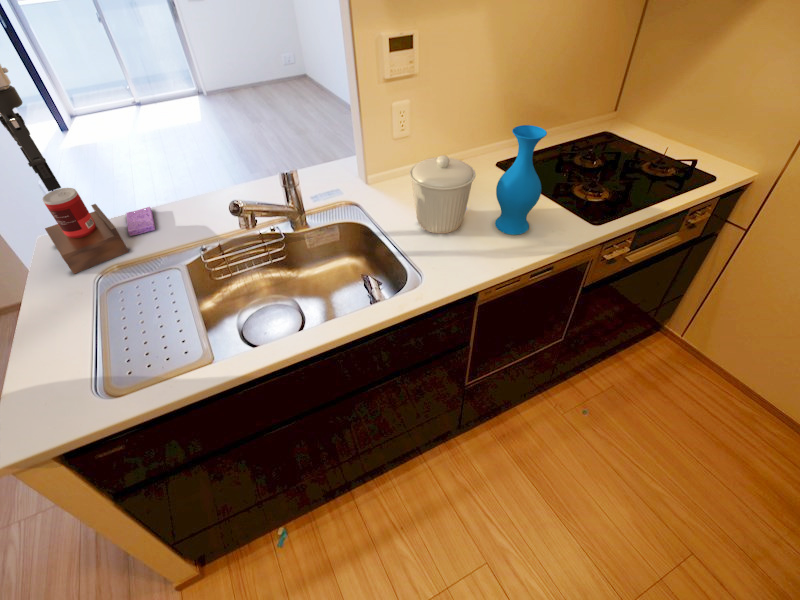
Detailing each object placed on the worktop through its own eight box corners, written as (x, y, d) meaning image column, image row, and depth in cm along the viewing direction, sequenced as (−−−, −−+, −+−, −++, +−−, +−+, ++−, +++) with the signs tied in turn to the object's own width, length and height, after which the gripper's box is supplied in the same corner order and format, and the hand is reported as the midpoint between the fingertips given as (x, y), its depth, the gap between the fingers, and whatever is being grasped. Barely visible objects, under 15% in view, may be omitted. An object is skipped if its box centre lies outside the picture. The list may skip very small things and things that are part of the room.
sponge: (130, 236, 125) (127, 231, 124) (128, 217, 133) (125, 211, 132) (156, 230, 127) (153, 225, 126) (152, 211, 135) (149, 206, 134)
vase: (491, 237, 121) (506, 140, 103) (490, 214, 131) (503, 121, 112) (534, 239, 120) (558, 142, 101) (530, 216, 130) (550, 122, 111)
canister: (467, 208, 133) (474, 142, 119) (472, 241, 120) (481, 171, 106) (409, 208, 134) (409, 142, 120) (408, 241, 121) (408, 171, 107)
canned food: (93, 220, 121) (72, 184, 113) (100, 231, 116) (79, 195, 109) (63, 230, 117) (39, 193, 110) (68, 242, 112) (44, 205, 105)
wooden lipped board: (74, 274, 112) (56, 249, 107) (56, 246, 122) (40, 222, 117) (129, 251, 119) (115, 227, 114) (108, 227, 129) (95, 203, 124)
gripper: (24, 97, 87) (78, 191, 101) (2, 73, 100) (52, 160, 115) (-21, 105, 83) (42, 202, 97) (-38, 80, 97) (20, 169, 111)
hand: (48, 180), depth 106 cm, fingers open, 13 cm apart
